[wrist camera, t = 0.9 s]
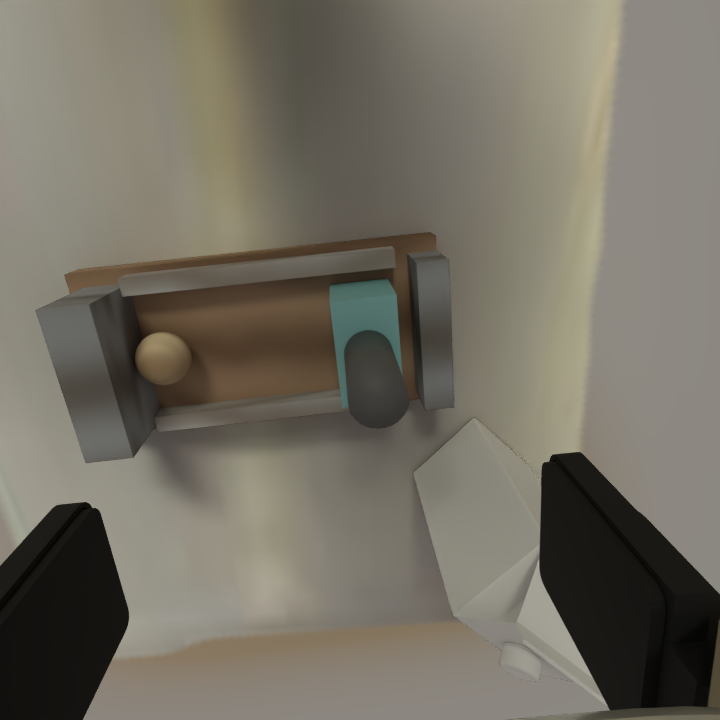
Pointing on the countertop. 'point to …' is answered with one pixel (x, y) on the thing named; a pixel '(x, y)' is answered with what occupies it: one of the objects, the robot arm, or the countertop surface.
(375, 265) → the base
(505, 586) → the milk carton
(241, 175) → the countertop surface
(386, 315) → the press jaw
